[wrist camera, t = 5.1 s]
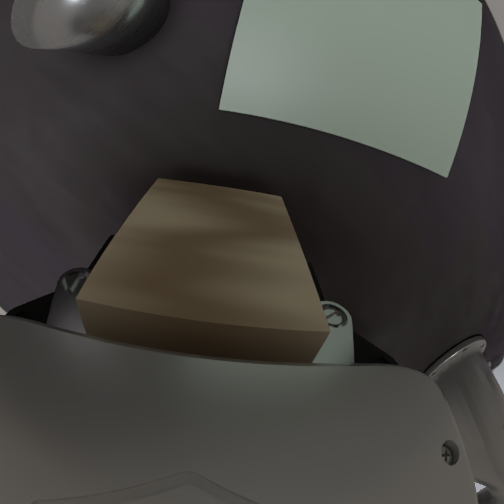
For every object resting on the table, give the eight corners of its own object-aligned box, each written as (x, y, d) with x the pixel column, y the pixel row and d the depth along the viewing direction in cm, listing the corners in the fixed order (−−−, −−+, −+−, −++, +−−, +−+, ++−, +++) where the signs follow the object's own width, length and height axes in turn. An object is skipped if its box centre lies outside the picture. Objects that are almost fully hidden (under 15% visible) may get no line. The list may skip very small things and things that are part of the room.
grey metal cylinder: (180, -27, 8) (153, -81, 3) (158, 55, 10) (110, 37, 5) (93, -18, 7) (33, -47, 2) (73, 59, 9) (0, 61, 4)
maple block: (281, 196, 11) (330, 331, 5) (255, 290, 14) (269, 425, 8) (157, 178, 10) (75, 298, 4) (155, 277, 13) (117, 408, 7)
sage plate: (472, 4, 7) (481, 4, 6) (437, 172, 14) (446, 178, 14) (274, -92, 5) (277, -100, 4) (219, 108, 12) (218, 109, 11)
